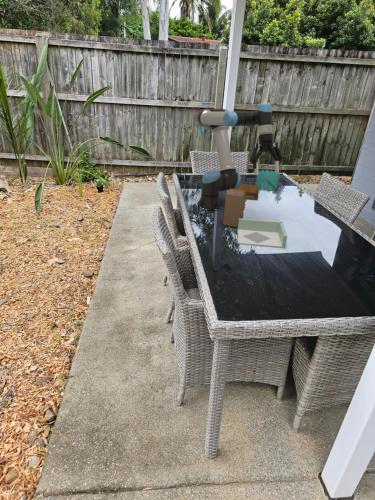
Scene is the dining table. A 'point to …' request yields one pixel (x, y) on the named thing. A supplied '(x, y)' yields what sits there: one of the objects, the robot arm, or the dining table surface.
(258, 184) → the basket
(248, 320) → the dining table surface
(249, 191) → the diary
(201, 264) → the dining table surface
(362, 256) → the dining table surface
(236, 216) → the wooden block
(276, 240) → the corner tray
